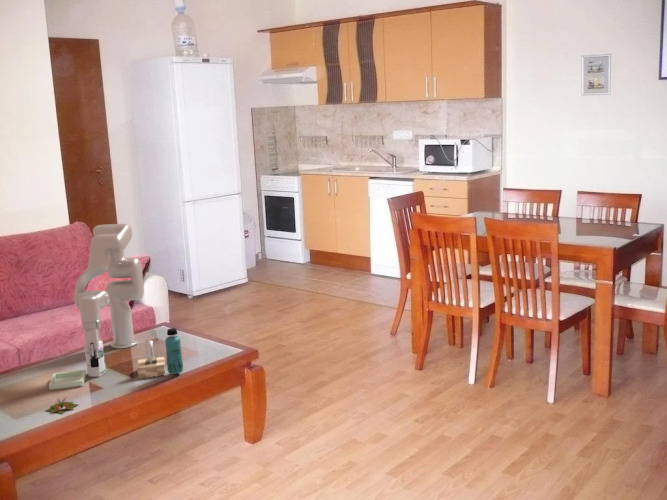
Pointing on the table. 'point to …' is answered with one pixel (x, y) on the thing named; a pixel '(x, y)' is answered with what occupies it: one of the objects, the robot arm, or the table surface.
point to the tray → (67, 380)
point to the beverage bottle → (173, 352)
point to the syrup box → (101, 358)
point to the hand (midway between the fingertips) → (96, 363)
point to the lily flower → (61, 404)
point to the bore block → (151, 368)
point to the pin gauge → (149, 352)
